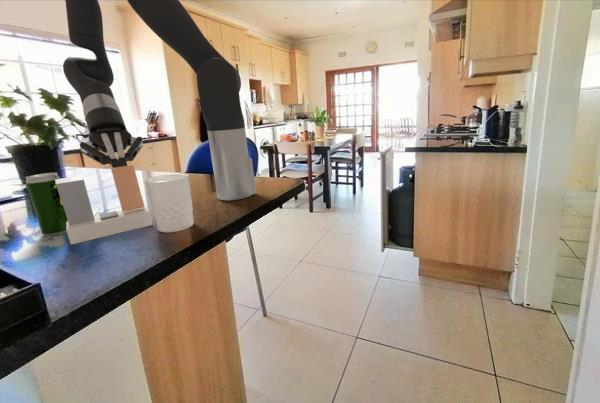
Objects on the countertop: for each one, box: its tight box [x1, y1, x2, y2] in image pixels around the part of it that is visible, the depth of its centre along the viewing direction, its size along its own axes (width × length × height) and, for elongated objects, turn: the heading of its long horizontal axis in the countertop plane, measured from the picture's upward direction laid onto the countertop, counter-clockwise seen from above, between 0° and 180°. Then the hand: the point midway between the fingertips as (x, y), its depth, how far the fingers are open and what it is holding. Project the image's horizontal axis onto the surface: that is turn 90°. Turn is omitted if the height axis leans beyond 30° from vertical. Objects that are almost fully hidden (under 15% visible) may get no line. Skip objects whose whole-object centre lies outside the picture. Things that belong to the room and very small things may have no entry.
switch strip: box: [66, 205, 153, 245], centre depth 63 cm, size 14×6×3 cm, turn 125°
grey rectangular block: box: [55, 175, 95, 225], centre depth 57 cm, size 4×2×9 cm, turn 125°
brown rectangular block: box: [110, 164, 145, 212], centre depth 65 cm, size 4×2×9 cm, turn 125°
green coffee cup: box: [25, 172, 68, 238], centre depth 63 cm, size 5×5×12 cm
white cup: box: [143, 172, 195, 233], centre depth 61 cm, size 8×8×10 cm
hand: (122, 174), depth 68 cm, fingers closed
